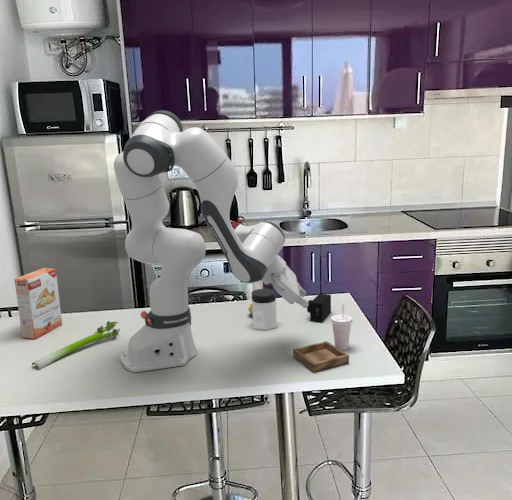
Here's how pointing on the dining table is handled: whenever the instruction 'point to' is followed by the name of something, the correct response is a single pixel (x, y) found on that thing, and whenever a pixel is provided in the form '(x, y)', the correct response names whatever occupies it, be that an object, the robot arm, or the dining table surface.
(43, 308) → the cracker box
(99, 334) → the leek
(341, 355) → the tray
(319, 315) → the digital camera
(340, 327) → the smoothie
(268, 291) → the jar
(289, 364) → the dining table surface
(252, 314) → the toy pineapple
